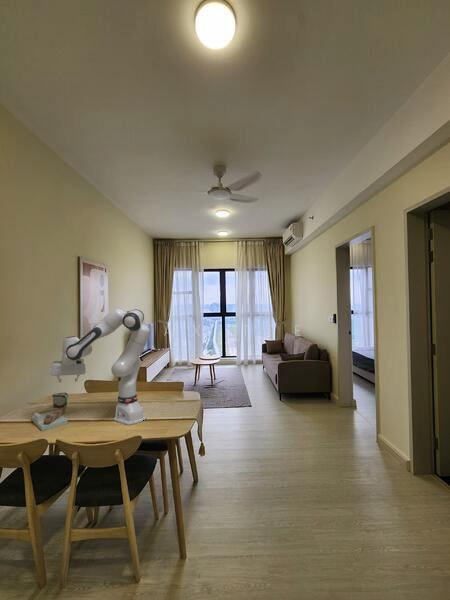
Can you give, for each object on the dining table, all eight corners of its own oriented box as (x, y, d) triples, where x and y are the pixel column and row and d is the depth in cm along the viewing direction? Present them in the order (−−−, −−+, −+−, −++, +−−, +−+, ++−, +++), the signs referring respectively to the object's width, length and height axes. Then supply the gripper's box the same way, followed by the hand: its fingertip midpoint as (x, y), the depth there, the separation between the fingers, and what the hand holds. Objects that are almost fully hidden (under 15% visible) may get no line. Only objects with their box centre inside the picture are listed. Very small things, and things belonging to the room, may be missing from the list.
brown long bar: (49, 424, 174) (49, 416, 174) (43, 424, 174) (43, 416, 174) (65, 412, 192) (65, 406, 192) (59, 412, 192) (59, 406, 192)
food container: (72, 406, 211) (72, 392, 212) (65, 409, 205) (65, 395, 206) (58, 405, 215) (58, 391, 215) (52, 407, 209) (51, 394, 209)
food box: (67, 423, 181) (67, 414, 181) (42, 431, 170) (42, 421, 170) (55, 414, 197) (55, 405, 197) (31, 420, 187) (31, 411, 187)
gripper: (50, 362, 182) (49, 384, 182) (85, 361, 190) (84, 382, 190) (51, 360, 188) (50, 381, 188) (86, 359, 196) (85, 379, 196)
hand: (68, 381), depth 189 cm, fingers open, 8 cm apart
